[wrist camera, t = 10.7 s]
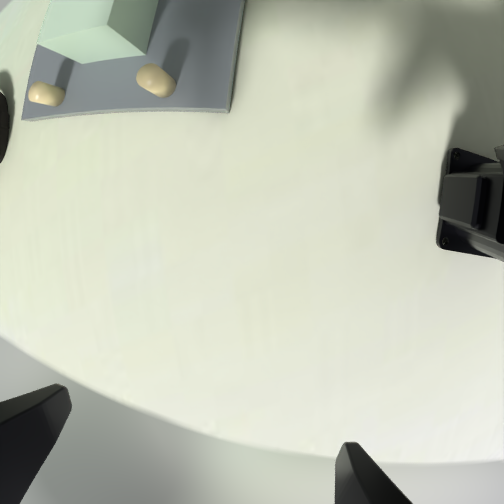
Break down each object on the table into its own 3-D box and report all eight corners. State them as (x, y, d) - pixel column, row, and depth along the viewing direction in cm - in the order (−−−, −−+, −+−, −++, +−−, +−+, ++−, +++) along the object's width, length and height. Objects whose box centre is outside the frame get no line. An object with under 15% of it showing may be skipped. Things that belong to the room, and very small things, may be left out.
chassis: (254, -54, 14) (248, -84, 11) (229, 113, 17) (216, 98, 14) (70, -23, 15) (47, -40, 12) (31, 121, 19) (-1, 117, 15)
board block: (166, -28, 14) (139, -67, 9) (145, 55, 16) (106, 24, 11) (104, -16, 15) (70, -46, 10) (81, 64, 16) (36, 43, 11)
